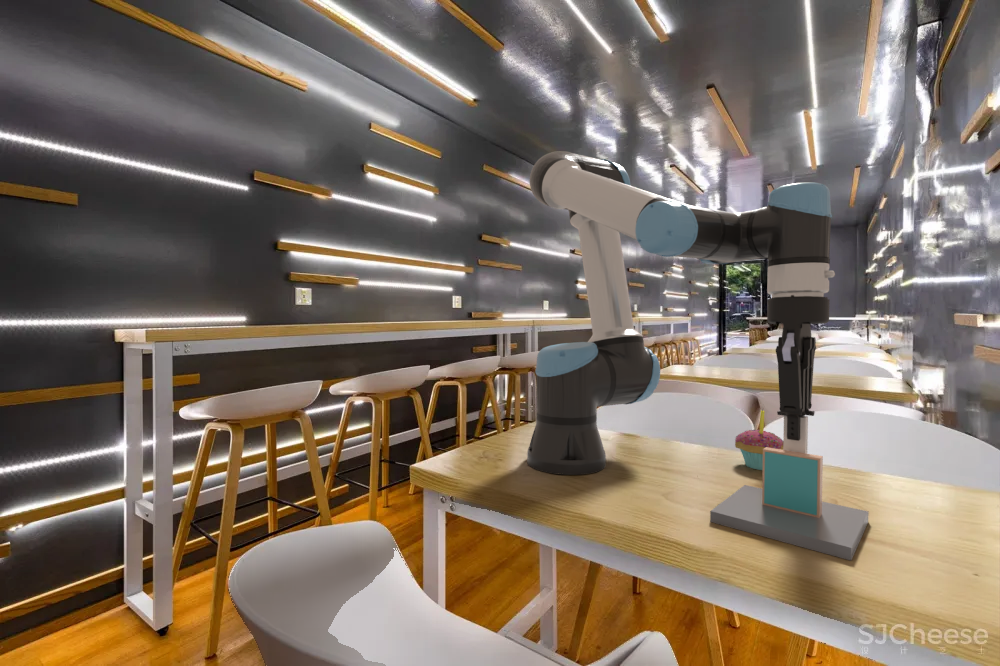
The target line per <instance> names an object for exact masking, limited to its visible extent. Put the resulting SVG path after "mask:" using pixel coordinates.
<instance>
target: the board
mask: <svg viewBox="0 0 1000 666" xmlns="http://www.w3.org/2000/svg"><path fill="white" fill-rule="evenodd" d="M709 513H710V516H709V517H710V518H709V520H710V523H714V524H717V525H719V526H720V525H721V526H725V527H727V528H732V529H734V530H735V529H736V530H739V531H743V532H746V533H749V534H753V535H757V536H760V537H764V538H768V539H771V540H776V541H779V542H783V543H785V544H790V545H794V546H797V547H801V548H804V549H807V550H811V551H816V552H818V553H822V554H827V555H829V556H833V557H836V558H840V559H844V560H848V561H852V560H853V557H854V556H855V554H856V550H857V549H858V546H859V544H860V542H861V540H862V537H863V535H864V533H865V531H866V528H867V526H868V523H869V511H867V510H864V509H858V508H854V507H849V506H845V505H841V504H836V503H832V502H825V501H822V515H821V516H820V518H818V517H814V516H810V515H805V514H801V513H797V512H793V511H788V510H784V509H780V508H776V507H771V506H767V505H763V504H762V487H761V488H760V487H756V486H751V485H747V484H744V485H742V486H741V487H740V488H739V489H737V490H736V491H735V492H734V493H732V494H731V495H729V496H728V497H727V498H725V499H724V500H722V501H721V502H719V504H718V505H717V506H715V507H713V509H711V510H710V512H709Z"/></svg>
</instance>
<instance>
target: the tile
mask: <svg viewBox="0 0 1000 666" xmlns="http://www.w3.org/2000/svg"><path fill="white" fill-rule="evenodd" d="M823 460H824V457H823V455H818V454H813V453H812V454H811V453H807V454H806V453H800V452H794V451H787V450H781V449H775V448H769V447H765V448H764V449H763V470H762V484H761V485H762V487H761V488H762V504H763V505H767V506H771V507H776V508H780V509H784V510H788V511H793V512H797V513H801V514H805V515H810V516H814V517H818V518H820V516H821V515H822V502H823V474H824V473H823V468H824V467H823V466H824V464H823V463H824V461H823Z"/></svg>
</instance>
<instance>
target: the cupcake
mask: <svg viewBox="0 0 1000 666" xmlns="http://www.w3.org/2000/svg"><path fill="white" fill-rule="evenodd" d="M764 407H765V406H762V410H760V417H759V429H749V430H744V431H743V432H742V433H741V432H740V433H739V434H737V435H736V436H735V439H734V440H735V441H734V447H735V448H736V449H739V450H740V453H741V455H742V458H743V460H744V464H745V466H746V467H747V468H751V469H754V470H759V471H763V449H764V448H765V447H769V448H775V449H781V450H783V440H784V439H782V438H781V437H779V436H778V435H776V434H775V433H773V432H771V431H766V430H764V425H765V424H764V423H765V412H766V411H765V410H764Z"/></svg>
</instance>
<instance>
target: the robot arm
mask: <svg viewBox="0 0 1000 666" xmlns="http://www.w3.org/2000/svg"><path fill="white" fill-rule="evenodd" d="M529 187H530V190H531V193H532V195H533V196H534V198H535V199H536V200H537V201H538V202H540V203H541V204H543V205H545V206H547V207H550V208H552V209H556V210H568V215H569V222H570V225H571V226H572V227H574V228H575V229H577V230H578V236H579V237H578V239H579V243H580V245H579V246H580V250H581V251H580V252H581V257H582V258H581V260H582V265H583V271H584V272H583V273H584V274H583V275H584V278H585V287H586V288H585V289H586V293H587V301H588V302H587V303H588V309H589V315H590V324H591V332H592V335H591V337H590V338H589V339H588V341H578V342H577V341H575V342H565V343H564V342H563V343H557V344H551V345H548V346H544V347H542V349H540V350H539V352H538V353H537V356H536V367H535V374H536V387H535V388H536V396H535V397H536V399H535V400H536V402H535V404H536V405H535V406H536V408H535V409H536V416H535V417H536V418H535V419H536V422H535V423H536V424H535V427H534V430H533V433H532V436H531V438H530V442H529V446H528V448H527V453H526V457H527V458H526V460H527V461H526V462H527V464H528V466H529V467H531V468H533V469H534V470H537V471H540V472H543V473H547V474H548V473H549V474H556V475H564V476H565V475H566V476H567V475H570V476H571V475H573V476H575V475H576V476H577V475H578V476H579V475H587V474H592V473H598V472H600V471H602V470H604V469H605V468H606V466H607V465H606V464H607V463H606V462H607V460H606V457H607V455H606V451H605V447H604V444H603V441H602V438H601V434H600V431H599V429H598V425H597V423H598V421H597V419H598V418H597V414H598V413H597V412H598V408H599V407H608V406H616V405H631V404H635V403H639V402H643V401H645V400H647V399H648V398H650V397H651V396H652V395H654V394H653V393H654V391H655V390H656V389H657V387H658V385H659V382H660V378H661V367H660V366H661V365H660V362H659V359H658V356H657V355H656V354H654V353H653V351H652V350H651V349H650V348H649V347H646V346H645V342H644V335H643V334H641V333H640V332H639V331H637V329H635V327H634V326H635V325H634V320H633V319H634V318H633V313H632V307H631V301H630V294H629V293H630V292H629V286H628V281H627V273H626V267H625V262H624V261H625V260H624V256H623V248H622V242H621V234H622V235H625V236H627V237H629V238H630V239H631V238H632V239H633V240H636V241H637V243H638V244H639V245H640V248H641V249H642V250H643V251H645V252H646V253H649V254H655V255H658V256H661V257H665V258H670V257H671V258H672V257H676V258H687V259H688V258H689V259H697V260H699V261H700V262H701V263H703V264H707V265H726V264H727V265H728V264H729V263H735V262H744V261H750V260H757V259H767V289H766V291H767V292H766V293H767V294H768V295H771V297H770V298H768V300H767V302H766V303H767V304H766V305H767V306H766V308H767V309H766V312H767V313H766V316H767V317H766V320H767V323H769V324H771V325H772V324H776V325H777V324H780V325H782V332H781V336H779V337H778V341H777V346H776V348H775V354H776V360H777V370H778V371H777V376H778V394H779V410H777V412H776V414H777V416H783V439H782V440H783V450H787V451H794V452H800V453H806V454H808V443H809V441H808V436H809V435H808V433H809V430H808V429H809V427H808V426H809V416H811V417H814V416H815V413H816V412H815V411H816V410H815V411H814V410H811V409H812V405H813V404H812V393H813V379H814V378H813V377H814V364H815V355H816V354H815V353H816V350H817V346H816V343H817V341H816V337H815V336H812V327H811V324H814V325H817V324H819V325H820V324H822V325H823V324H824V325H825V324H827V323H829V321H830V299H828V298H829V297H827V296H824V295H825V294H827V293H828V292H830V280H829V279H830V278H834V277H835V276H836V273H835V271H834V270H830V264H831V263H830V262H831V261H830V260H831V258H830V249H831V222H832V219H833V214H832V206H831V191H830V189H829V187H828V186H827V185H826V184H823V183H820V182H814V181H813V182H796V183H790V184H786V185H785V184H784V185H781V186H779V187H777V188H774V189H773V190H771V192H770V193H769V195H768V200H767V206H763V207H760V208H757V209H752V210H747V211H742V212H741V211H740V212H730V211H724V210H718V209H712V208H705V207H700V206H697V205H696V206H695V205H691V204H687V203H684V202H681V201H678V200H676V199H671V198H667V197H665V196H662V195H659V194H656V193H653V192H650V191H647V190H643V189H642V188H638V187H636V186H632V185H631V180H630V176H629V174H628V172H627V171H626V170H625V168H624V167H623V166H622V165H620V164H619V163H617V162H613V161H612V160H609V159H606V158H597V157H592V156H587V155H582V154H577V153H574V152H570V151H564V150H561V151H560V150H558V151H557V150H556V151H552V152H548V153H546V154H544V155H542V156H541V157H540V158H539V159H538V160H537V161H536V162H535V163H534V165H533V166H532V169H531V170H530V175H529ZM620 233H621V234H620Z"/></svg>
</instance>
